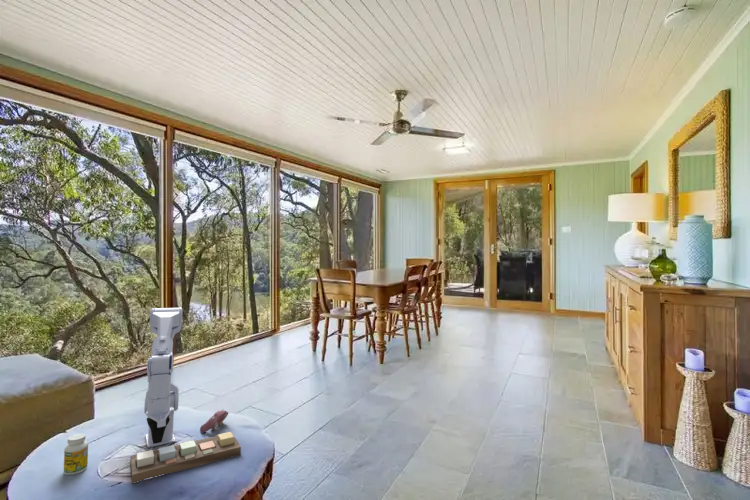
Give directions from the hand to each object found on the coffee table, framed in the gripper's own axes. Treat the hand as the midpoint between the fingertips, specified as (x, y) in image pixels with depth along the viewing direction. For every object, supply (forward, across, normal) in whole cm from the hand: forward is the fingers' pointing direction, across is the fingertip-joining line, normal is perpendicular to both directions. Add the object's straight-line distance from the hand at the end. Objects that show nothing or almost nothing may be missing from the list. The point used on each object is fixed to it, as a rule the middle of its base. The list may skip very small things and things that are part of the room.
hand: (157, 442), depth 111 cm
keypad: (+7, 0, -8) cm, 11 cm away
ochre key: (+6, 0, -19) cm, 20 cm away
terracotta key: (+7, 0, -14) cm, 16 cm away
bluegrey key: (+6, 0, -3) cm, 6 cm away
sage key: (+6, 0, -8) cm, 10 cm away
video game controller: (+8, +17, -20) cm, 28 cm away
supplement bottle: (+8, +10, +19) cm, 23 cm away
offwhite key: (+6, 0, +3) cm, 6 cm away
